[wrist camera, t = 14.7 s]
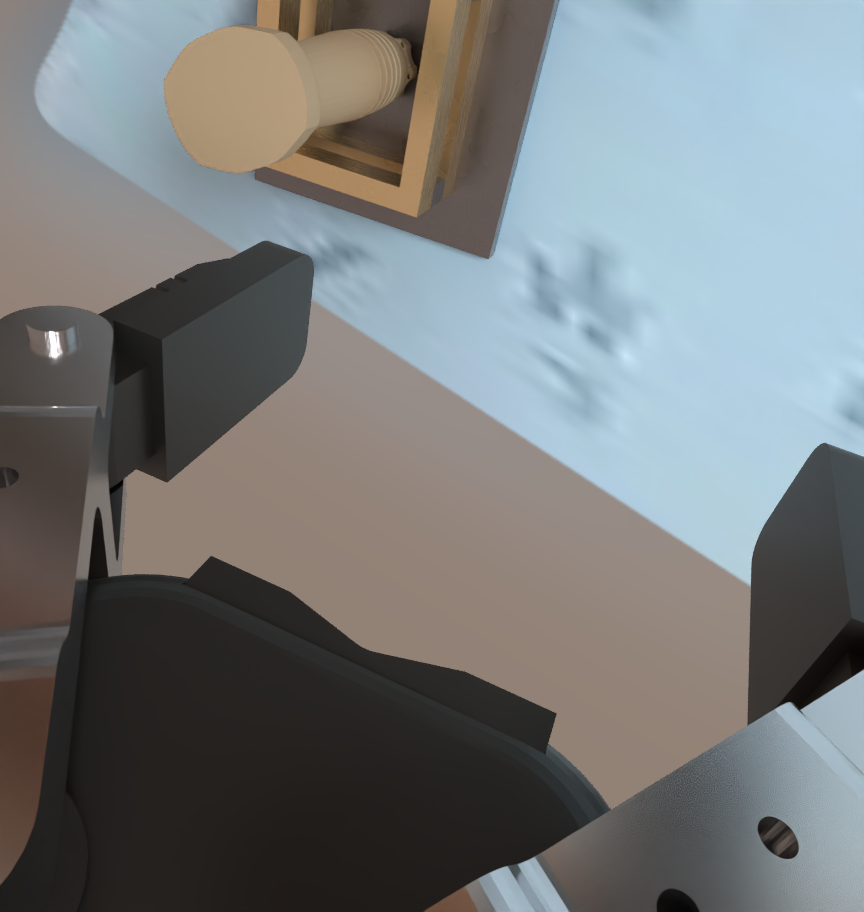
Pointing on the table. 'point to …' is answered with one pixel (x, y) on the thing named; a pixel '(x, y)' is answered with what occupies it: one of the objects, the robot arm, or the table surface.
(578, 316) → the table surface
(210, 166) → the handle
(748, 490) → the table surface
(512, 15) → the collar stand
